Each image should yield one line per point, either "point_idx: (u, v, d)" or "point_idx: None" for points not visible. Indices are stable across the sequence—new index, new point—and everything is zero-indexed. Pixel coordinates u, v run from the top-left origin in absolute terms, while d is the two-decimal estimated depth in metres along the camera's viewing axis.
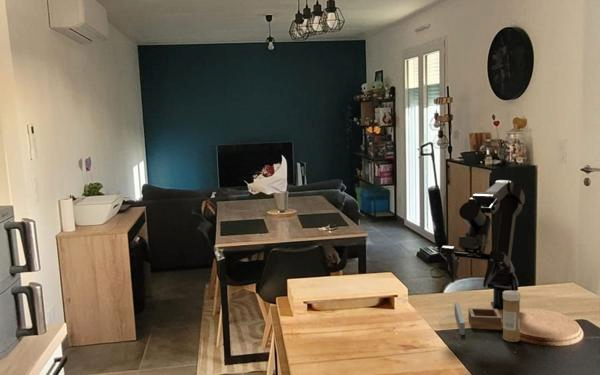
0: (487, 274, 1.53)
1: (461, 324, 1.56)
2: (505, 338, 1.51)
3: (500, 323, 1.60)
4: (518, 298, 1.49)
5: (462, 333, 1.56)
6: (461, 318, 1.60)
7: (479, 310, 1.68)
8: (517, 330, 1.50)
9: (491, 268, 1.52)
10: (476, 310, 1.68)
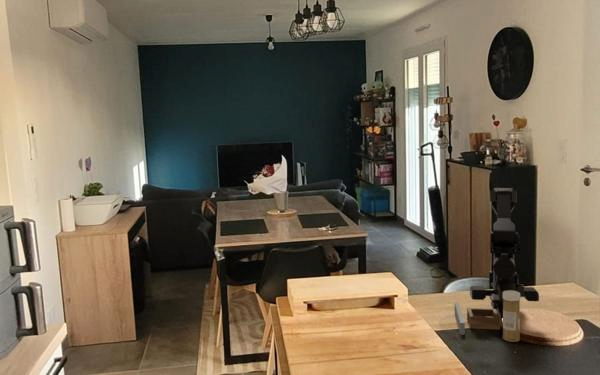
0: None
1: (461, 324, 1.56)
2: (505, 338, 1.51)
3: (499, 323, 1.60)
4: (518, 298, 1.49)
5: (462, 333, 1.56)
6: (461, 318, 1.60)
7: (478, 310, 1.68)
8: (517, 330, 1.50)
9: None
10: (475, 310, 1.68)
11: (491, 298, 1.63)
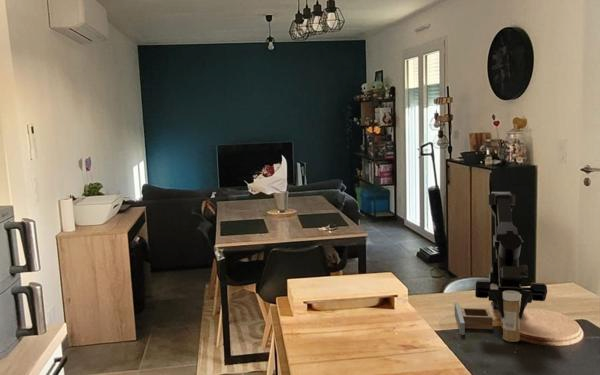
0: (522, 305, 1.51)
1: (461, 324, 1.56)
2: (505, 338, 1.51)
3: (491, 323, 1.60)
4: (518, 298, 1.49)
5: (462, 333, 1.56)
6: (461, 318, 1.60)
7: (470, 310, 1.68)
8: (517, 330, 1.50)
9: (525, 299, 1.51)
10: (468, 310, 1.69)
11: (489, 293, 1.56)
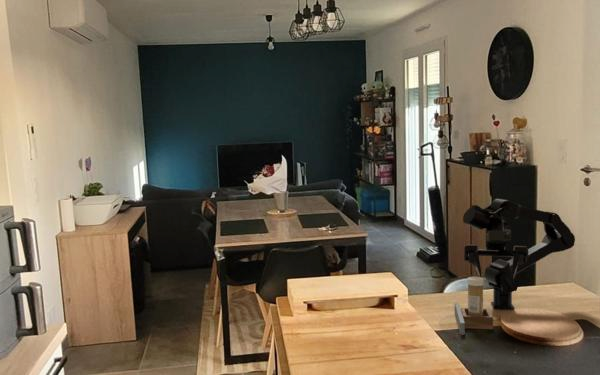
0: (514, 266, 1.66)
1: (461, 324, 1.56)
2: None
3: (492, 323, 1.60)
4: (481, 283, 1.62)
5: (462, 333, 1.56)
6: (461, 318, 1.60)
7: None
8: (480, 313, 1.63)
9: (517, 260, 1.67)
10: None
11: (469, 255, 1.73)
